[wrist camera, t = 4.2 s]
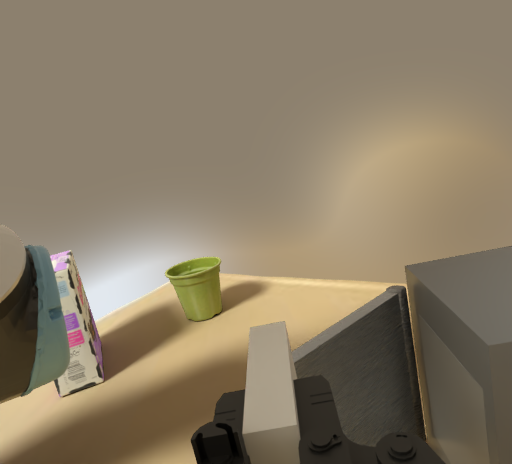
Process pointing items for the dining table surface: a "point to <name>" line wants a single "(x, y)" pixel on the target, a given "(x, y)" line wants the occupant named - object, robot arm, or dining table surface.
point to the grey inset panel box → (465, 354)
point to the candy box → (77, 329)
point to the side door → (369, 369)
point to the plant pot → (198, 287)
